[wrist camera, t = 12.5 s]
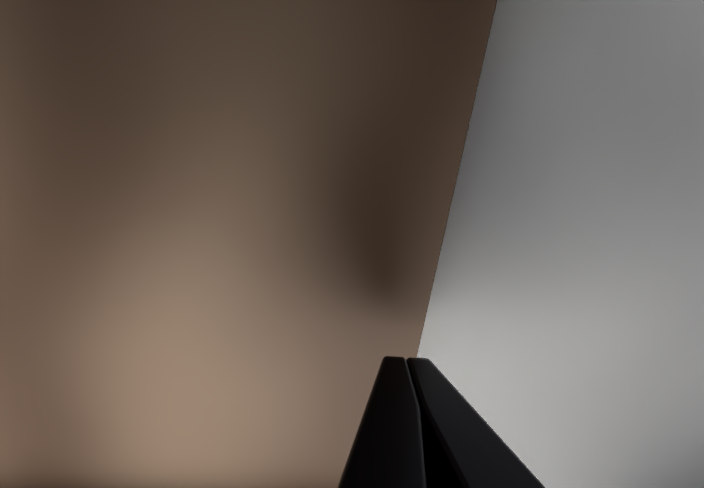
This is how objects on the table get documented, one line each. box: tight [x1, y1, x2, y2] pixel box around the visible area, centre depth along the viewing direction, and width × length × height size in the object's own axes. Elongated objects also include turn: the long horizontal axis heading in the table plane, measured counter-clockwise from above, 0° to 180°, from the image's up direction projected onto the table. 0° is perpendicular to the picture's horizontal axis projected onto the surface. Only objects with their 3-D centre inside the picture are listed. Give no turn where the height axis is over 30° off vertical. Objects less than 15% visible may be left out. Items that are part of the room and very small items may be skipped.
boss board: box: [0, 0, 497, 488], centre depth 8 cm, size 15×15×3 cm
